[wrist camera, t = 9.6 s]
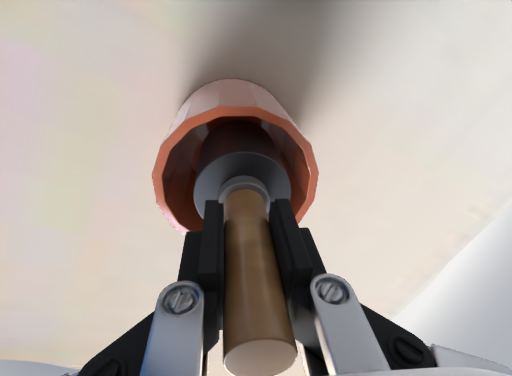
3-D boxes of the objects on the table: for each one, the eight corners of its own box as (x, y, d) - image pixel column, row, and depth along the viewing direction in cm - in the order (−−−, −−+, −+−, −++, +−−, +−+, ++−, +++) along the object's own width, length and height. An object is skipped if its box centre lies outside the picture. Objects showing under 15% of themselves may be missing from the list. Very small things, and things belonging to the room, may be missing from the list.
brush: (278, 120, 17) (375, 291, 6) (273, 188, 20) (334, 396, 9) (197, 119, 17) (147, 304, 6) (202, 189, 19) (173, 412, 8)
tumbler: (293, 80, 21) (330, 107, 14) (283, 185, 25) (306, 246, 18) (168, 76, 20) (139, 104, 13) (181, 188, 24) (164, 252, 17)
